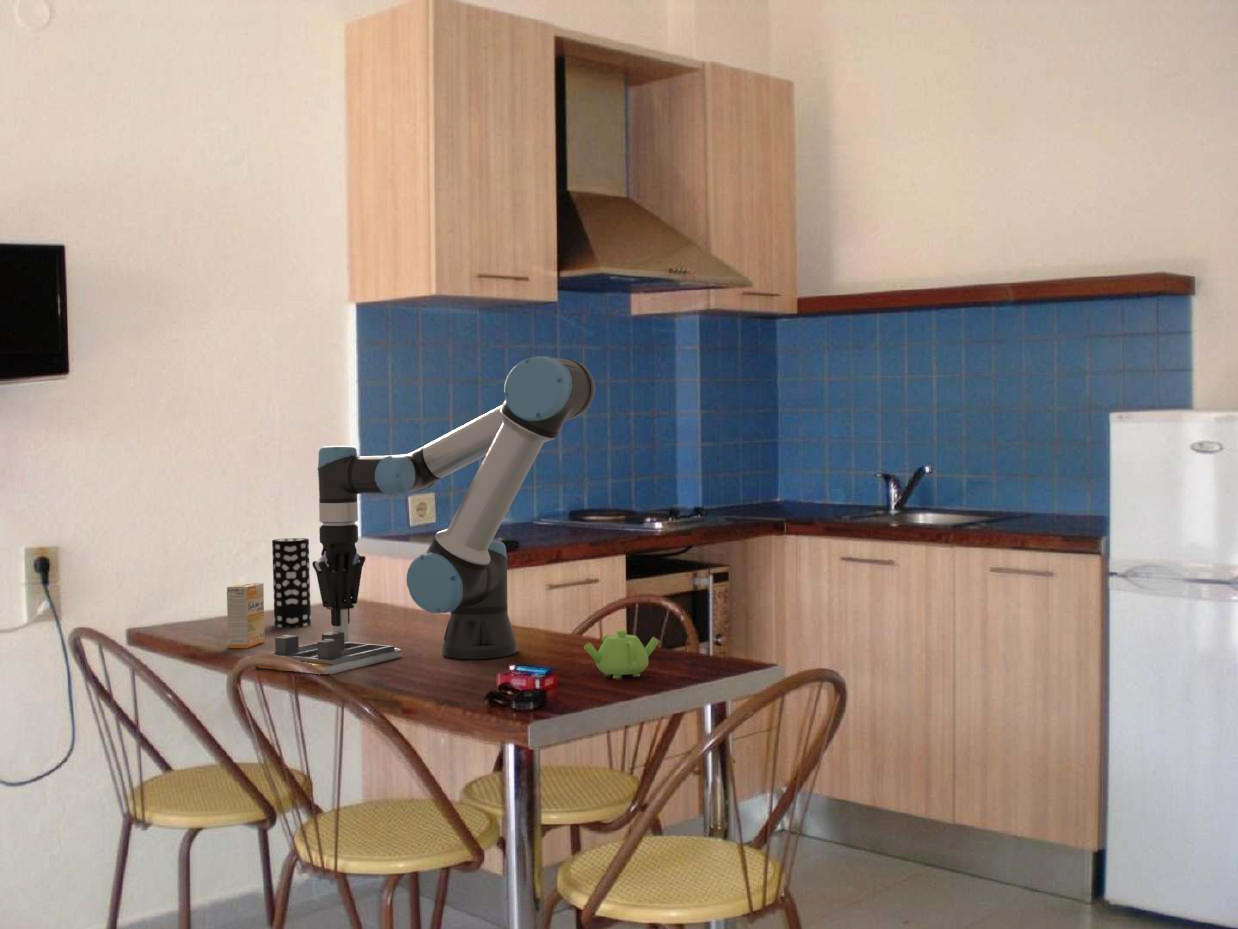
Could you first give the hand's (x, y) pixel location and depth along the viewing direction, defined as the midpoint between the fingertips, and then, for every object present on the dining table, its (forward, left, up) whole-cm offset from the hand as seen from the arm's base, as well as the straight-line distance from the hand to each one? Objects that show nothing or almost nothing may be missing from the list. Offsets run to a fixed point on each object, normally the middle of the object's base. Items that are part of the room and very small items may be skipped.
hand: (340, 641), depth 275 cm
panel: (0, +4, -4) cm, 5 cm away
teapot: (-59, -9, -4) cm, 60 cm away
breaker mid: (0, +3, -2) cm, 3 cm away
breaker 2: (-6, +10, -2) cm, 11 cm away
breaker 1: (+5, +10, -2) cm, 11 cm away
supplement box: (+31, -4, -4) cm, 31 cm away
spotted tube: (+43, -30, -4) cm, 53 cm away
